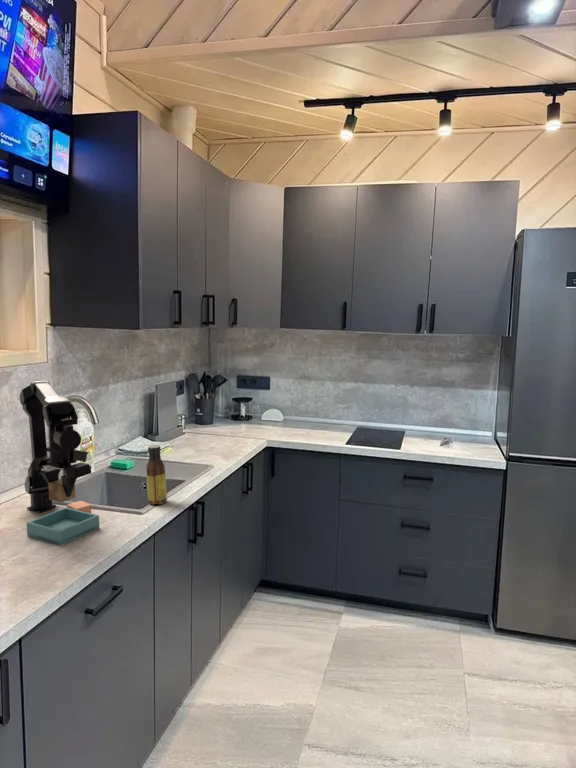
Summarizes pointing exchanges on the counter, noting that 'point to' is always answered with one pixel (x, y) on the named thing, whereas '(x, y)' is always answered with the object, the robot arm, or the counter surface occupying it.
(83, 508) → the terracotta carton
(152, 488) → the sauce bottle
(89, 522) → the tote
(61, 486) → the walnut block
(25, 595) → the counter surface
